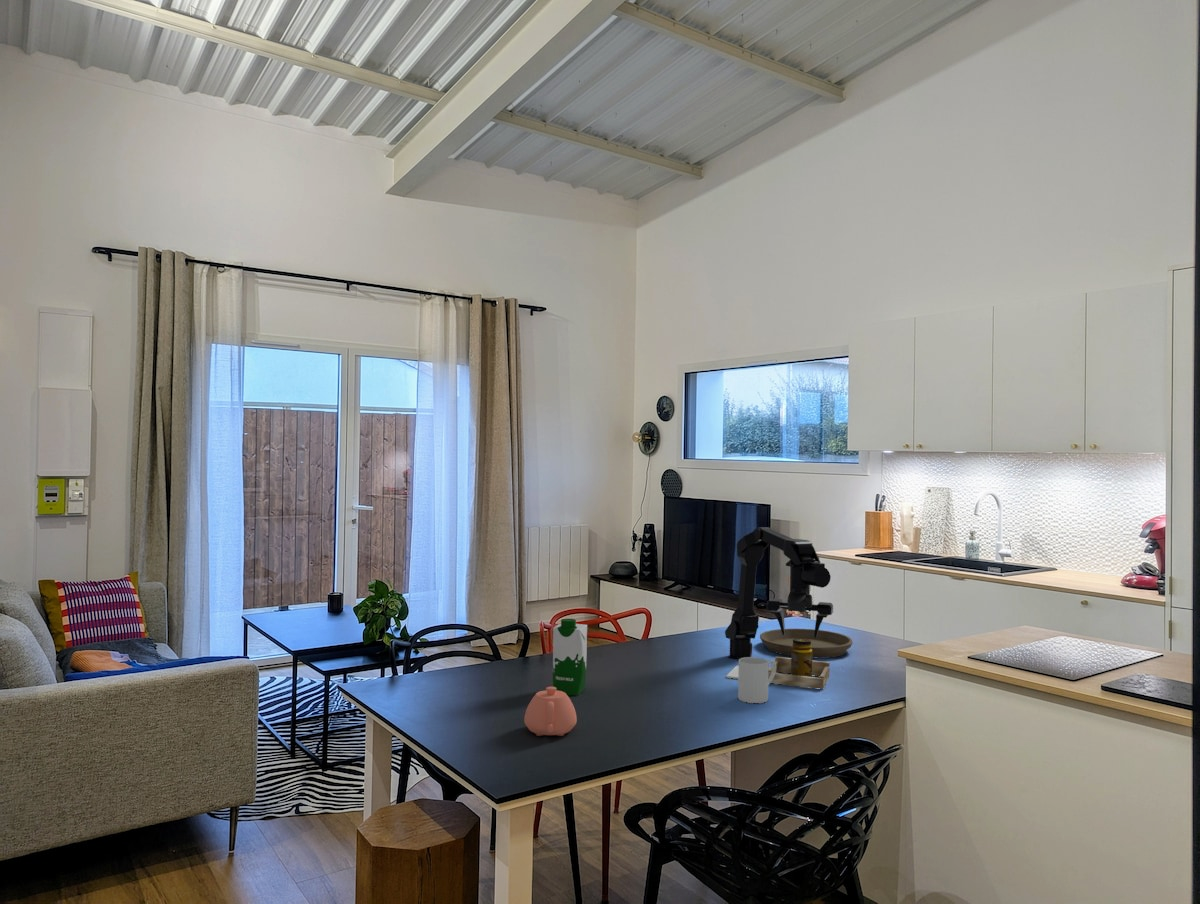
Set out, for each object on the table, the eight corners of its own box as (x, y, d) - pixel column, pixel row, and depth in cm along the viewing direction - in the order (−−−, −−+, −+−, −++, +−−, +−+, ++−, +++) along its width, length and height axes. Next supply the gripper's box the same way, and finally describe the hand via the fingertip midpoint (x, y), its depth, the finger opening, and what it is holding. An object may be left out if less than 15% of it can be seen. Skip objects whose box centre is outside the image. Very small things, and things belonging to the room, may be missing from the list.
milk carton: (549, 694, 221) (550, 620, 221) (559, 685, 230) (560, 614, 230) (579, 697, 218) (581, 622, 219) (589, 688, 227) (590, 616, 227)
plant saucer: (755, 655, 271) (755, 642, 271) (764, 637, 301) (764, 625, 301) (852, 664, 262) (852, 649, 262) (852, 644, 292) (852, 631, 292)
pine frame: (766, 683, 236) (766, 667, 236) (775, 671, 250) (775, 656, 250) (823, 689, 230) (823, 673, 230) (829, 677, 244) (829, 662, 244)
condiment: (817, 683, 237) (817, 642, 237) (789, 684, 236) (789, 642, 236) (807, 677, 244) (807, 636, 244) (780, 677, 243) (780, 637, 243)
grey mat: (726, 677, 241) (726, 675, 241) (736, 667, 254) (736, 665, 254) (759, 681, 237) (759, 679, 237) (768, 670, 250) (768, 668, 250)
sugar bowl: (576, 723, 197) (577, 680, 197) (576, 743, 183) (577, 697, 183) (525, 722, 196) (526, 680, 197) (522, 742, 182) (522, 696, 183)
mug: (753, 705, 214) (753, 665, 214) (732, 698, 220) (732, 659, 220) (785, 698, 221) (785, 659, 221) (763, 691, 227) (764, 654, 227)
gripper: (763, 584, 237) (762, 638, 236) (829, 588, 230) (829, 644, 229) (769, 579, 247) (769, 631, 246) (833, 583, 240) (833, 636, 240)
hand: (799, 636), depth 240 cm, fingers open, 9 cm apart
